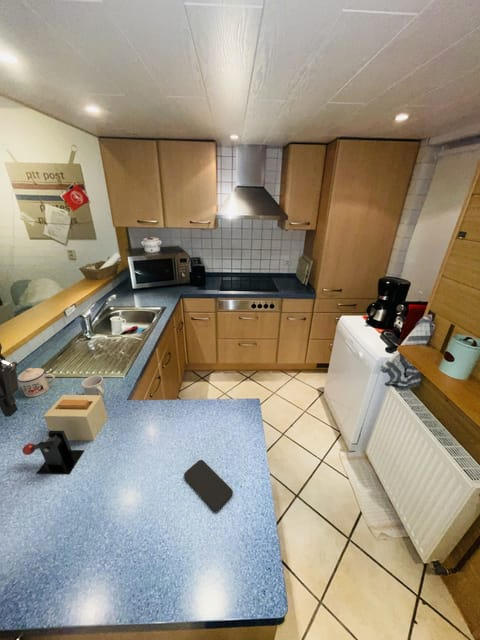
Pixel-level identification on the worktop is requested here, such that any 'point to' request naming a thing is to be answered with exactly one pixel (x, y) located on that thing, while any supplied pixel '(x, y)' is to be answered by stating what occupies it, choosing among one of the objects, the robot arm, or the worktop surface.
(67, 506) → the worktop surface
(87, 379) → the cup
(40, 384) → the teacup with lid
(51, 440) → the lever
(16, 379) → the robot arm
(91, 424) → the toaster
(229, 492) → the phone
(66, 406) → the toast
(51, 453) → the toaster lever bracket
